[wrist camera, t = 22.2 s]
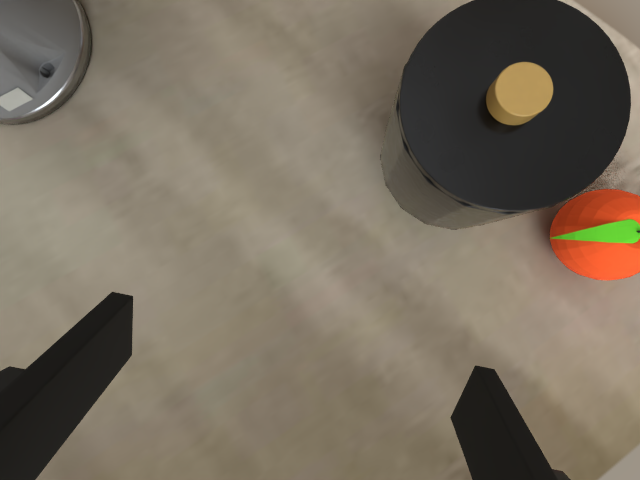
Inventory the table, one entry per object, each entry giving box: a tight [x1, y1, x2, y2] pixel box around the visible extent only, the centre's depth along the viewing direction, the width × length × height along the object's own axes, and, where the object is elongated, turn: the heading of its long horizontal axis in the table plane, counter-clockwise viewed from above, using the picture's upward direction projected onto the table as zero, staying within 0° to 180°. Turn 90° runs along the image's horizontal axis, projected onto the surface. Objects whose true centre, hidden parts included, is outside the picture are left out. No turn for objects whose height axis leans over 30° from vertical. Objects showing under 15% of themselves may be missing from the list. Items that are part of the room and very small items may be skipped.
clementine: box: [549, 189, 640, 280], centre depth 28 cm, size 8×7×7 cm
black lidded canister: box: [380, 0, 631, 230], centre depth 22 cm, size 11×11×11 cm
